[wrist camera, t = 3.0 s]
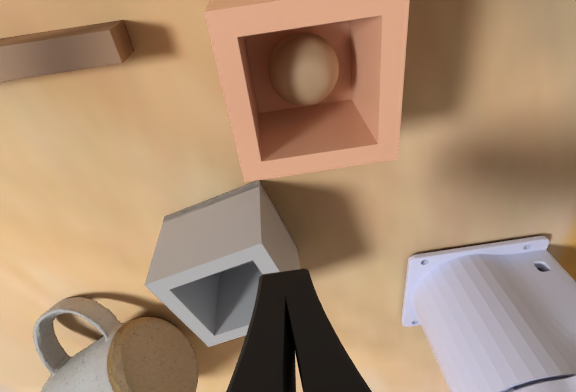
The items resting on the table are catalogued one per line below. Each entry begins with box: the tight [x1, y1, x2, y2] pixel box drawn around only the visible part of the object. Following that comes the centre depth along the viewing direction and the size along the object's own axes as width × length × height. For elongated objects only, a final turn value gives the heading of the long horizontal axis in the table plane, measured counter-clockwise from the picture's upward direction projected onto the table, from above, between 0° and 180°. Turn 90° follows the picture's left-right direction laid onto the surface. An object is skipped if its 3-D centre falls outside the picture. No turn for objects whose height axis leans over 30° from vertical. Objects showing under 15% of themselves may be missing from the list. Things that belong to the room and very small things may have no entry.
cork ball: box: [269, 32, 339, 106], centre depth 15 cm, size 3×3×3 cm
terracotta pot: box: [204, 0, 410, 182], centre depth 14 cm, size 6×6×5 cm
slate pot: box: [145, 180, 301, 347], centre depth 20 cm, size 6×6×5 cm
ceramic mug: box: [33, 297, 198, 392], centre depth 24 cm, size 11×8×8 cm
